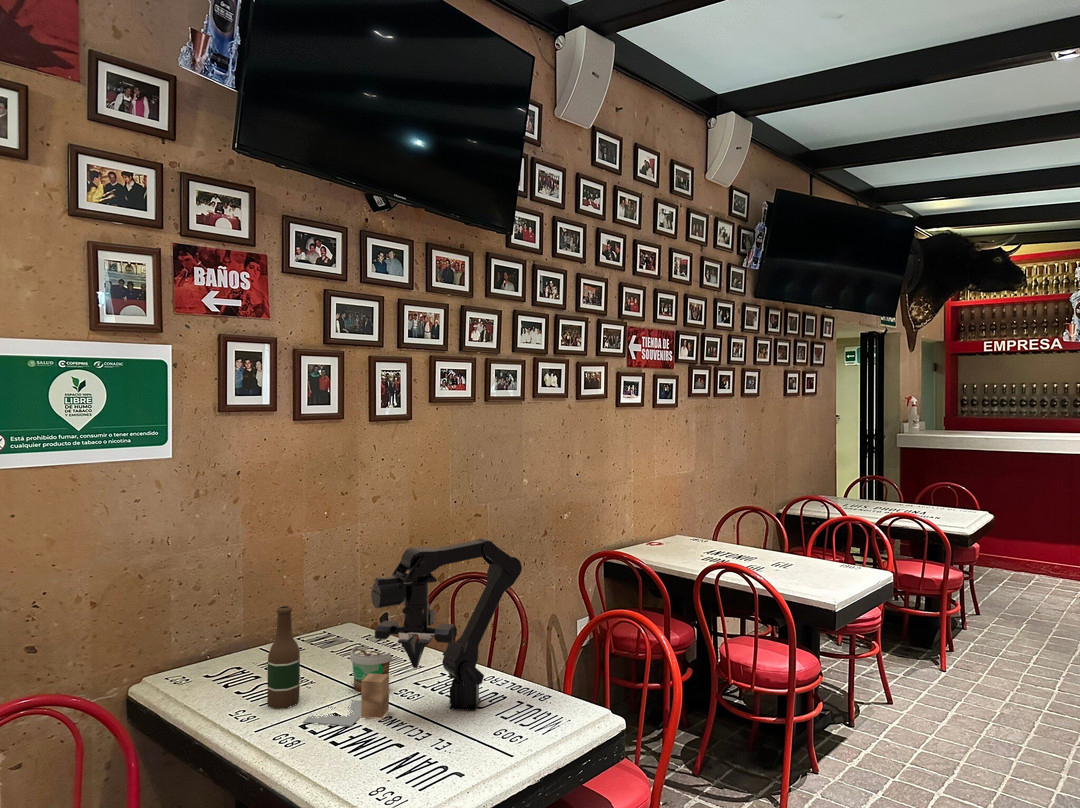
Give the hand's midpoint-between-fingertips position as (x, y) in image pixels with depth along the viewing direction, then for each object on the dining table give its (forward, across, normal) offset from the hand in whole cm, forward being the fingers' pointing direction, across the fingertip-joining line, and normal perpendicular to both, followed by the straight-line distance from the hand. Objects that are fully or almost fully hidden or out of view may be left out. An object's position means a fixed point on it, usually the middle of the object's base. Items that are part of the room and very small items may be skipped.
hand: (415, 667), depth 174 cm
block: (+12, +10, 0) cm, 16 cm away
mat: (+12, +19, 0) cm, 22 cm away
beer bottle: (+12, +35, -3) cm, 37 cm away
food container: (+12, +18, -14) cm, 26 cm away
